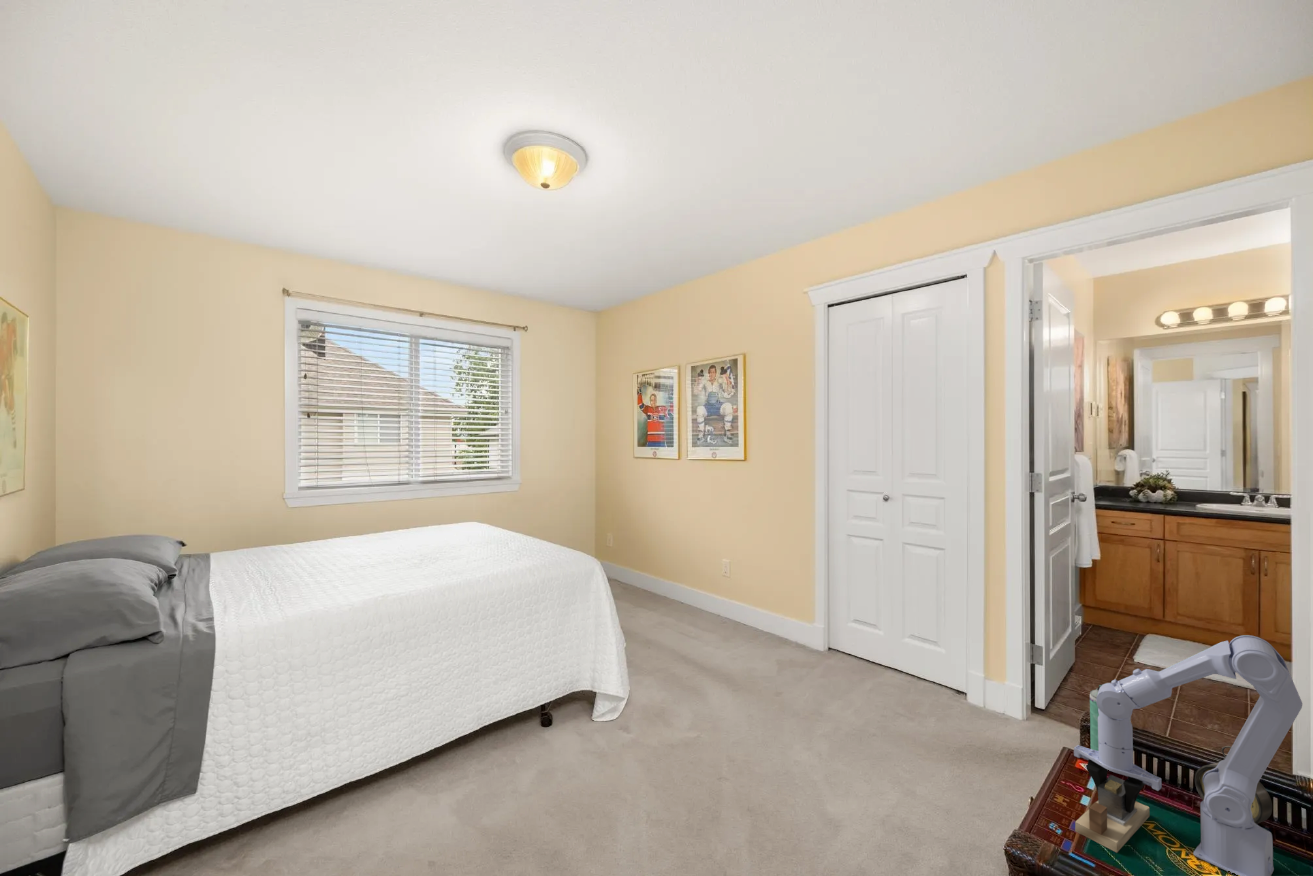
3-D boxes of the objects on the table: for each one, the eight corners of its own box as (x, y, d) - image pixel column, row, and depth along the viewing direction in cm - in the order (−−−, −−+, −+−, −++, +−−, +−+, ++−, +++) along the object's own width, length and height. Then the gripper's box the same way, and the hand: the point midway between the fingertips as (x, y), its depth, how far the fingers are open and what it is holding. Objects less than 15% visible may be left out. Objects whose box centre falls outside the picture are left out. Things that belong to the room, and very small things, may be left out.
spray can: (1124, 772, 132) (1123, 691, 132) (1098, 770, 134) (1097, 690, 133) (1110, 759, 138) (1109, 681, 138) (1086, 757, 139) (1084, 679, 139)
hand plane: (1149, 816, 118) (1148, 786, 118) (1116, 852, 108) (1116, 820, 108) (1109, 798, 124) (1109, 770, 124) (1075, 831, 114) (1074, 800, 114)
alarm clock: (1193, 809, 120) (1192, 736, 119) (1209, 803, 121) (1208, 731, 121) (1261, 844, 109) (1260, 765, 109) (1277, 837, 111) (1276, 759, 110)
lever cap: (1134, 807, 117) (1133, 781, 117) (1121, 820, 113) (1121, 793, 113) (1111, 797, 120) (1110, 771, 120) (1098, 809, 117) (1098, 783, 117)
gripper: (1166, 752, 113) (1167, 816, 113) (1082, 721, 125) (1084, 779, 125) (1154, 764, 109) (1155, 830, 109) (1069, 731, 121) (1070, 791, 121)
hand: (1116, 804), depth 117 cm, fingers closed on lever cap, 4 cm apart
